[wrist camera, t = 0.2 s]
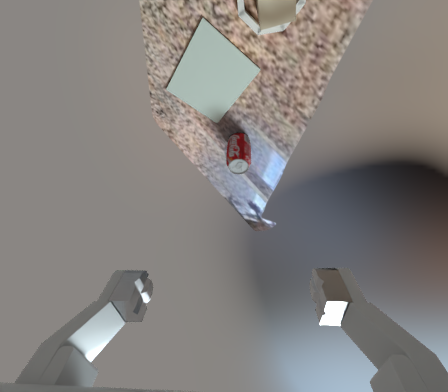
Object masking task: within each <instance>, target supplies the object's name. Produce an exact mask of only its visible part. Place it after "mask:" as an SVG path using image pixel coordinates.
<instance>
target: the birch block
mask: <svg viewBox="0 0 448 392" xmlns="http://www.w3.org/2000/svg"><path fill="white" fill-rule="evenodd" d="M256 3H257V13H258V19H259V24H260V30H264V29H267V28H271V27H275V26H278V25H282V24H285V23H289V22H293V21H296V0H256Z"/></svg>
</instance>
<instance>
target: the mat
mask: <svg viewBox="0 0 448 392" xmlns="http://www.w3.org/2000/svg"><path fill="white" fill-rule="evenodd" d="M259 71H260V68H259V67H258V66H257V65H255V64H254V63H253V62H252V61H251V60H250V59H249V58H248V57H247V56H245V55H244V54H243V53H242V52H241V51H240V50H239V49H238V48H237V47H235V46H234V45H233V44H232V43H231V42H230V41H229V40H228V39H227V38H226V37H224V36H223V35H222V34H221V33H220V32H219V31H218V30H217V29H216V28H214V27H213V26H212V25H211V24H210V23H209V22H208V21H207V20H206V19H204V18H202V20H201V22H200V24H199V26H198V28H197V30H196V32H195V34H194V35H193V37H192V39H191V41H190V43H189V45H188V47H187V49H186V51H185V53H184V55H183V57H182V59H181V61H180V63H179V65H178V67H177V69H176V71H175V73H174V75H173V77H172V79H171V81H170V83H169V85H168V87H167V89H166V90H168V91H169V92H171V93H172V94H174V95H175V96H177V97H178V98H180V99H181V100H183V101H184V102H186V103H187V104H189V105H190V106H192V107H193V108H195V109H196V110H198V111H199V112H201V113H202V114H204V115H205V116H207V117H208V118H210V119H211V120H213V121H214V122H216V123H218V122H219V121H220V119H221V118H222V117H223V116H224V114H225V113H226V112H227V111H228V109H229V108H230V107H231V106H232V105H233V103H234V102H235V101H236V100H237V98H238V97H239V96H240V95H241V93H242V92H243V91H244V90H245V88H246V87H247V86H248V85H249V83H250V82H251V81H252V80H253V79H254V77H255V76H256V75H257V74H258V72H259Z"/></svg>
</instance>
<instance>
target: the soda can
mask: <svg viewBox="0 0 448 392" xmlns="http://www.w3.org/2000/svg"><path fill="white" fill-rule="evenodd" d="M250 164H251V146H250V140H249V137H248V136H247V135H245V134H243V133H235V134H233V135H231V136H230V138H229V140H228V145H227V166H228V168H229V170H230V171H231V172H232V173H234V174H243V173H245V172H246V171H247V170H248V169H249V166H250Z"/></svg>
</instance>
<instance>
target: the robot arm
mask: <svg viewBox="0 0 448 392" xmlns="http://www.w3.org/2000/svg"><path fill="white" fill-rule="evenodd" d="M312 276H313V278H312V279H310V292H311V296H312V300H313V301H314V302H315V303H317V306H316V309H315V310H316V313H317V316H318V319H319V323H320V324H323V325H340V326H341V328H342V329H343V330H344V331H345V333H346V334H347V335H348V336H349V337H350V338H351V339H352V340H353V342H354V343H355V344H356V345H357V346H358V347H359V348H360V350H361V351H362V352H363V353H364V354H365V355H366V356H367V357H368V359H369V360H370V361H371V362H372V363H373V364H374V365H375V367H376V368H377V369H378V372H377V373H376V374H375V375H374V377H373V378H372V379H371V381H370V384H371V387H372V389H373V392H448V372H447V371H446V369H445V368H444V366H443V365H442V363H441V362H440V360H439V359H438V357H437V356H436V355H435V354H434V353H433V352H432V351H430V350H429V349H428V348H427V347H426V346H424V345H423V344H422V343H420V342H419V341H418V340H417V339H416V338H414V337H413V336H412V335H411V334H409V333H408V332H407V331H406V330H404V329H403V328H402V327H401V326H399V325H398V324H397V323H396V322H394V321H393V320H392V319H391V318H389V317H388V316H387V315H386V314H384V313H383V312H382V311H380V310H379V309H378V308H377V307H376V306H374V305H373V304H372V303H367V301H366V299H365V297H364V295H363V293H362V291H361V290H360V288H359V286H358V284H357V282H356V280H355V278H354V276H353V274H352V273H351V271H350V270H349V269H348V268H314V269H313V270H312ZM147 277H148V273H147V271H133V270H132V271H130V270H117V271H115V272H114V273H113V275H112V276H111V278H110V280H109V281H108V283H107V285H106V287H105V288H104V290H103V292H102V294H101V295H100V297H99V299H98V300H97V301H96V302H93V303H92V304H90V305H89V306H88V307H87V308H85V309H84V310H83V311H82V312H80V313H79V314H78V315H77V316H75V317H74V318H73V319H72V320H70V321H69V322H68V323H67V324H65V325H64V326H63V327H62V328H61V329H59V330H58V331H57V332H55V333H54V334H53V335H52V336H50V337H49V338H48V339H47V340H45V341H44V342H43V343H42V344H41V345H40V346H39V348H38V349H37V351H36V352H35V354H34V355H33V356H32V358H31V359H30V361H29V362H28V364H27V365H26V367H25V368H24V370H23V371H22V373H21V374H20V376H19V377H18V379H17V380H16V381H15V383H0V392H189V391H169V390H147V389H127V388H106V387H92V385H93V383H94V381H95V378H96V376H97V374H98V369H97V368H96V367H95V366H94V365H93V364H92V363H91V361H92V360H93V359H94V358H95V357H96V356H97V354H98V353H99V352H100V351H101V350H102V349H103V348H104V347H105V345H106V344H107V343H108V342H109V341H110V340H111V339H112V338H113V337H114V335H115V334H116V333H117V332H118V331H119V330H120V328H121V327H122V326H123V325H124V324H125V322H142V320H143V317H144V315H145V312H146V309H147V306H146V303H147V302H148V301H149V300H150V298H151V295H152V291H153V284H152V281H151V280H150V279H149V278H147ZM190 392H191V391H190Z"/></svg>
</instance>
